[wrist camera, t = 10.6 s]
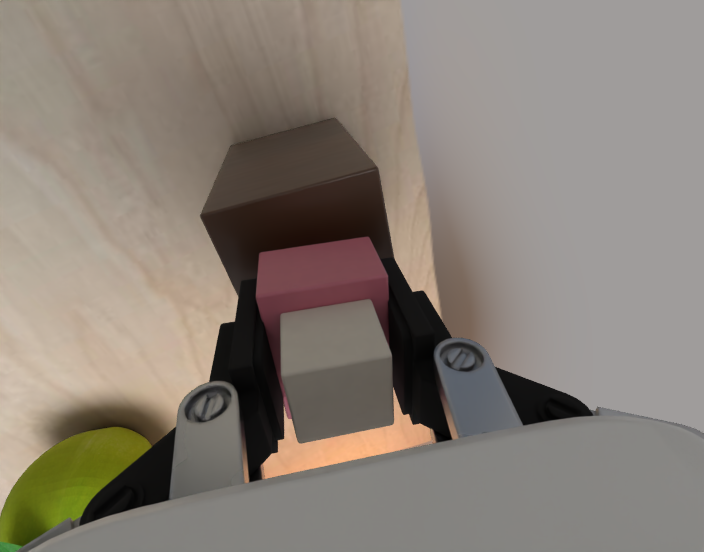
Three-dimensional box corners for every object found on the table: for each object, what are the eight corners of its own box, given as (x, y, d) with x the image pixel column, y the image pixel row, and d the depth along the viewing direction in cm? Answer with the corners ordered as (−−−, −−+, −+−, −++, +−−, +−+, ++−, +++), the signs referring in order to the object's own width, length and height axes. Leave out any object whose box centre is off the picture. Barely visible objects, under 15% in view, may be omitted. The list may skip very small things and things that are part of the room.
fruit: (83, 484, 32) (16, 637, 24) (27, 414, 27) (-82, 576, 19) (192, 463, 33) (165, 602, 25) (158, 391, 29) (110, 536, 20)
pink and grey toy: (258, 251, 11) (249, 359, 7) (369, 235, 12) (415, 329, 8) (290, 387, 14) (296, 512, 11) (377, 371, 15) (413, 486, 11)
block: (230, 145, 20) (198, 215, 12) (336, 117, 21) (378, 166, 12) (271, 254, 24) (270, 365, 16) (361, 229, 24) (406, 325, 16)
